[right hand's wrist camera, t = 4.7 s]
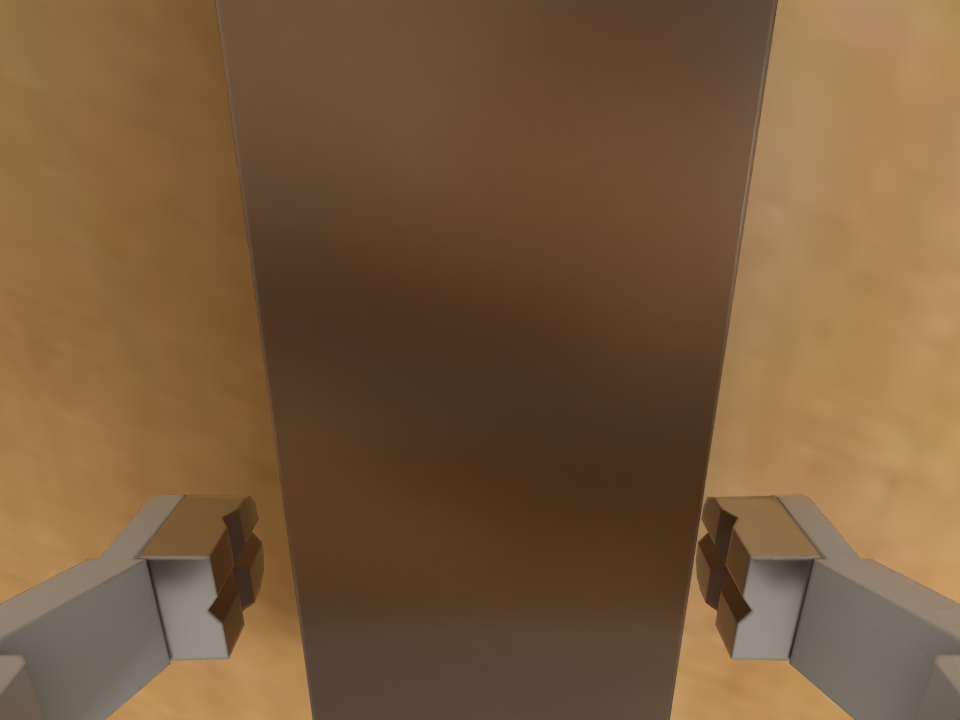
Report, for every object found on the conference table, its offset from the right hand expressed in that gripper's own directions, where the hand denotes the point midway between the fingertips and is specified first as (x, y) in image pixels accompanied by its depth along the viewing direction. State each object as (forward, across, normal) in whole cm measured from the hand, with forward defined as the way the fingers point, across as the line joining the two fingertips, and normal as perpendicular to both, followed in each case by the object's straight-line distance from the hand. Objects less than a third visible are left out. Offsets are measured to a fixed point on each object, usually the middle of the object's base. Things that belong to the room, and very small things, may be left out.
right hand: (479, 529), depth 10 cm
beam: (+3, 0, -25) cm, 25 cm away
